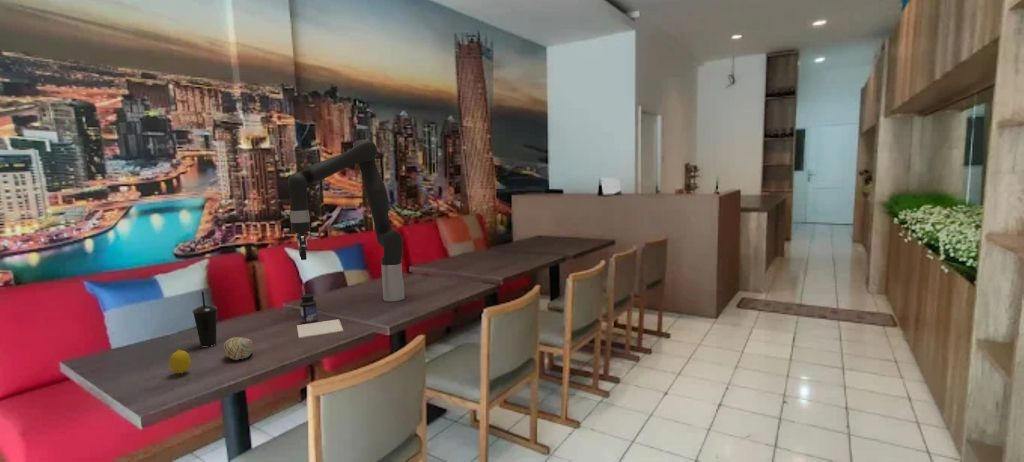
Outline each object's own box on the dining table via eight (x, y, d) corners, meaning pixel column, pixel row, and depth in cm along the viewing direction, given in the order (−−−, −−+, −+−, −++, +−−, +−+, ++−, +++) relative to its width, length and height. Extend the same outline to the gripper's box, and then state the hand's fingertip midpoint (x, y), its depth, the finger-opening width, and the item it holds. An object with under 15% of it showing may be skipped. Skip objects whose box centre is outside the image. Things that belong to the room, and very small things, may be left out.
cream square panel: (338, 320, 209) (338, 319, 209) (343, 331, 196) (343, 330, 196) (297, 326, 202) (296, 325, 202) (298, 338, 189) (298, 337, 189)
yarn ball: (235, 347, 179) (244, 324, 177) (256, 361, 177) (266, 338, 175) (211, 357, 169) (221, 332, 167) (234, 372, 168) (244, 347, 166)
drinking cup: (225, 342, 186) (219, 289, 183) (207, 350, 179) (200, 295, 176) (210, 340, 189) (204, 288, 186) (191, 347, 182) (184, 294, 179)
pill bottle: (320, 319, 211) (318, 293, 210) (313, 324, 205) (311, 297, 204) (306, 319, 212) (304, 293, 210) (298, 323, 206) (296, 297, 204)
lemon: (177, 370, 162) (174, 347, 161) (195, 369, 163) (192, 346, 161) (167, 378, 157) (164, 353, 155) (186, 377, 157) (183, 352, 156)
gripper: (311, 222, 210) (313, 260, 212) (308, 218, 223) (310, 254, 225) (291, 223, 207) (294, 262, 209) (289, 219, 219) (292, 256, 222)
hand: (303, 258), depth 217 cm, fingers open, 8 cm apart
